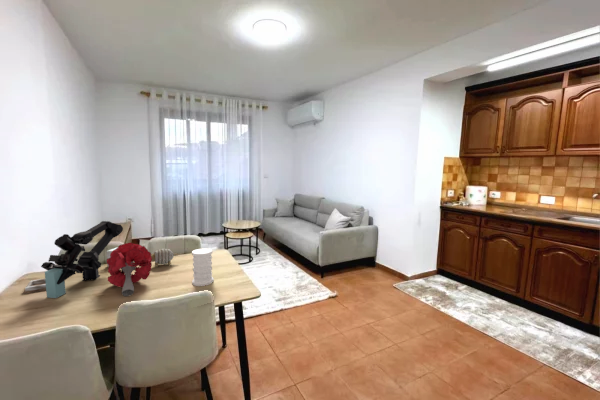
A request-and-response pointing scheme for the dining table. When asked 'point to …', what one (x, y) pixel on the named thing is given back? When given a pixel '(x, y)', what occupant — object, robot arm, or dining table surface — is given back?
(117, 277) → the red model tree
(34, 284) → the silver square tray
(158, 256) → the toy sheep
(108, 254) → the small box
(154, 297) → the dining table surface
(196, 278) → the decorative container
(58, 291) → the block
